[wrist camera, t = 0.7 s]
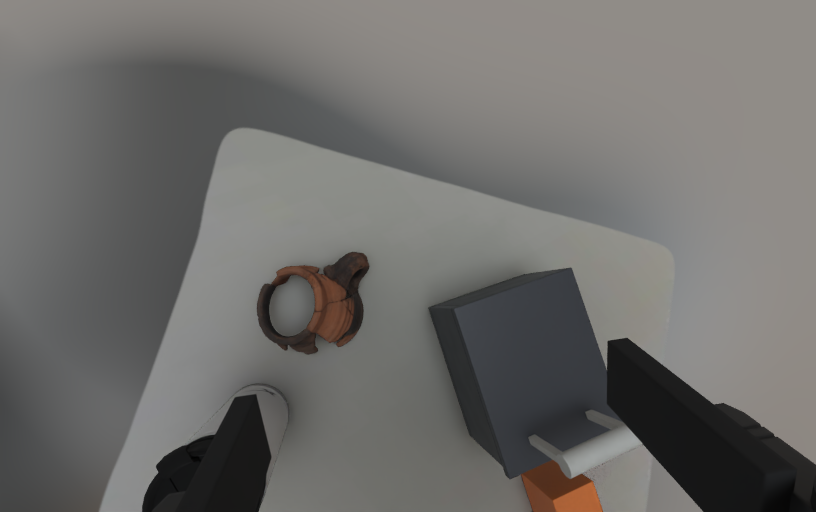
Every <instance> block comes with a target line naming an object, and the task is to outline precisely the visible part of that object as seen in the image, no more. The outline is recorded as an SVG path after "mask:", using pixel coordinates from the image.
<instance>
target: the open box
mask: <svg viewBox="0 0 816 512" xmlns="http://www.w3.org/2000/svg"><path fill="white" fill-rule="evenodd" d="M560 270H563V269H558V270H551V271H544V272H536V273H529V274H523V275H520V276H518V277H515V278H512V279H509V280H506V281H503V282H500V283H497V284H494V285H492V286H489V287H486V288H483V289H480V290H477V291H474V292H471V293H469V294H466V295H463V296H460V297H457V298H454V299H451V300H448V301H445V302H443V303H440V304H437V305H434V306H431V307H429V311H430V315H431V318H432V321H433V324H434V327H435V330H436V333H437V336H438V339H439V342H440V345H441V348H442V351H443V354H444V358H445V361H446V364H447V367H448V370H449V373H450V376H451V379H452V382H453V385H454V388H455V391H456V394H457V397H458V400H459V404H460V407H461V410H462V413H463V416H464V419H465V422H466V425H467V428H468V431H469V434H470V436H471V437H472V438H473V439H474V440H475V441H476V442H477V443H478V444H480V445H481V446H482V447H483V448H484V449H485V450H486V451H487V452H488V453H489V454H490V455H491V456H492V457H493V458H494V459H496V460H497V461H498V462H499V463H500V464H501V465H502V462H501V459H500V456H499V453H498V450H497V447H496V444H495V441H494V438H493V435H492V432H491V429H490V426H489V423H488V420H487V417H486V414H485V411H484V408H483V404H482V401H481V398H480V395H479V392H478V389H477V386H476V383H475V380H474V377H473V374H472V371H471V368H470V365H469V362H468V359H467V356H466V353H465V350H464V347H463V344H462V341H461V338H460V334H459V331H458V328H457V325H456V322H455V319H454V316H453V313H452V310H451V309H452V308H455V307H458V306H460V305H463V304H466V303H469V302H472V301H475V300H477V299H480V298H483V297H486V296H489V295H492V294H495V293H497V292H500V291H503V290H506V289H509V288H512V287H514V286H517V285H520V284H523V283H526V282H529V281H532V280H534V279H537V278H540V277H543V276H546V275H549V274H551V273H554V272H557V271H560ZM502 466H503V465H502Z"/></svg>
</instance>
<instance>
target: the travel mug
mask: <svg viewBox="0 0 816 512" xmlns="http://www.w3.org/2000/svg"><path fill="white" fill-rule="evenodd" d="M252 394H256V395H257V399H258V403H259V407H260V411H261V415H262V419H263V423H264V427H265V431H266V436H267V440H268V444H269V448H270V452H271V456H272V458H271V461H270V464H269V468H268V471H267V474H266V478H265V481H264V484H263V487H262V491H261V494H260V497H259V500H258V504H257V507H256V510H255V512H258V511H259V508H260V505H261V503H262V501H263V498H264V496H265V493H266V490H267V487H268V483H269V480H270V477H271V474H272V471H273V468H274V465H275V462H276V458H277V455H278V452H279V449H280V446H281V443H282V440H283V436H284V433H285V430H286V427H287V424H288V420H289V407H288V403H287V401H286V399H285V397H284V396H283V394H282V393H281V392H280V391H279V390H277V389H276V388H274V387H272V386H269V385H266V384H253V385H249V386H246V387H244V388H242V389H241V390H239V391H238V392H236V393H235V394H234V395H233V396H232V397H231V398H230V399H229V400H228V401H227V402H226V403H225V404H224V406H223V407H222V408H221V409H220V410H219V411H218V412H217V413H216V414H215V415H214V416H213V417H212V418H211V419H210V420H209V421H208V422H207V423H206V424H205V425H204V426H203V427H202V428H201V429H200V430H199V431H198V432H197V433H196V434H195V435H194V436H193V437H192V438H191V439H190V440H189V441H188V442H187V443H186V444H185V445H184V446H181V447H179V448H178V449H176V450H174V451H172V452H171V453H169V454H168V455H166V456H164V458H163V459H162V460H161V461H160V462H159V463H158V464H157V465H156V468H157V470H158V474H157V475H156V476H155V478H154V479H153V480H152V482H151V483H150V485H149V487H148V489H147V492H146V494H145V497H144V501H143V506H142V512H152V510H153V509H154V508H155V507H156V506H157V505H158V504H159V503H160V502H161V501H162V500H163V499H164V498H165V497H166V496H167V495H168V494H170V493H176V492H182V491H186V490H187V488H188V486H189V484H190V482H191V480H192V478H193V476H194V474H195V472H196V470H197V468H198V467H199V465H200V463H201V461H202V459H203V457H204V455H205V453H206V451H207V449H208V447H209V445H210V444H211V442H212V440H213V438H214V436H215V434H216V432H217V430H218V428H219V426H220V424H221V422H222V421H223V419H224V417H225V415H226V413H227V411H228V409H229V407H230V405H231V403H232V401H233V399H234V398H235V397H239V396H245V395H252Z"/></svg>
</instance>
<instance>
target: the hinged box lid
mask: <svg viewBox="0 0 816 512" xmlns="http://www.w3.org/2000/svg"><path fill="white" fill-rule="evenodd" d="M451 310H452V313H453V316H454V319H455V322H456V325H457V328H458V331H459V334H460V338H461V341H462V344H463V347H464V350H465V353H466V356H467V359H468V362H469V365H470V368H471V371H472V374H473V377H474V380H475V383H476V386H477V389H478V392H479V395H480V398H481V401H482V404H483V408H484V411H485V414H486V417H487V420H488V423H489V426H490V429H491V432H492V435H493V438H494V441H495V444H496V447H497V450H498V453H499V456H500V459H501V462H502V465H503V468H504V471H505V475H506V476H507V477H508V478H509V479H512V478H514V477H516V476H518V475H520V474H523V473H525V472H527V471H529V470H531V469H533V468H536V467H538V466H540V465H542V464H544V463H547V462H549V461H551V460H554V461H555V462H557V463H558V464H559V466H560V468H561V470H562V472H563V473H564V474H565V475H566V477H568V478H569V479H571V478H574V477H576V476H578V475H580V474H582V473H584V472H586V471H588V470H590V469H592V468H595V467H597V466H599V465H601V464H603V463H605V462H607V461H609V460H611V459H614V458H616V457H618V456H620V455H622V454H624V453H626V452H628V451H630V450H633V449H635V448H637V447H639V446H641V445H643V444H642V443H641V441H640V440H639V439H638V438H637V437H636V436H635V435H634V434H633V433H632V431H631V430H630V429H629V428H628V427H627V426H626V425H625V424H624V422H623V421H622V420H621V419H620V418H619V417H618V416H617V415H616V414H615V412H614V411H613V410H612V409H611V408H610V407H609V406H608V405H607V370H606V367H605V364H604V361H603V358H602V355H601V352H600V350H599V347H598V344H597V341H596V338H595V335H594V332H593V329H592V326H591V323H590V320H589V317H588V315H587V312H586V309H585V306H584V303H583V300H582V297H581V294H580V291H579V288H578V285H577V282H576V280H575V277H574V274H573V271H572V268H566V269H563V270H560V271H557V272H554V273H551V274H549V275H546V276H543V277H540V278H537V279H534V280H532V281H529V282H526V283H523V284H520V285H517V286H514V287H512V288H509V289H506V290H503V291H500V292H497V293H495V294H492V295H489V296H486V297H483V298H480V299H477V300H475V301H472V302H469V303H466V304H463V305H460V306H458V307H455V308H452V309H451Z"/></svg>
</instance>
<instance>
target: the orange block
mask: <svg viewBox="0 0 816 512" xmlns="http://www.w3.org/2000/svg"><path fill="white" fill-rule="evenodd" d="M521 476H522V479H523V482H524V485H525V488H526V491H527V494H528V497H529V500H530V503H531V506H532V509H533V512H603V510H602V507H601V504H600V501H599V498H598V495H597V492H596V489H595V486H594V483H593V481H592V480H590V479H589V478H587V477H586V476H584V475H583V474H580V475H578V476H576V477H574V478H571V479H569V478H568V477H566V475H565V474H564V473H563V472H562V470H561V468H560V466H559V464H558V463H557V462H555V461H554V460H551V461H549V462H547V463H544V464H542V465H540V466H538V467H536V468H533V469H531V470H529V471H527V472H525V473H523V474H521Z"/></svg>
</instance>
